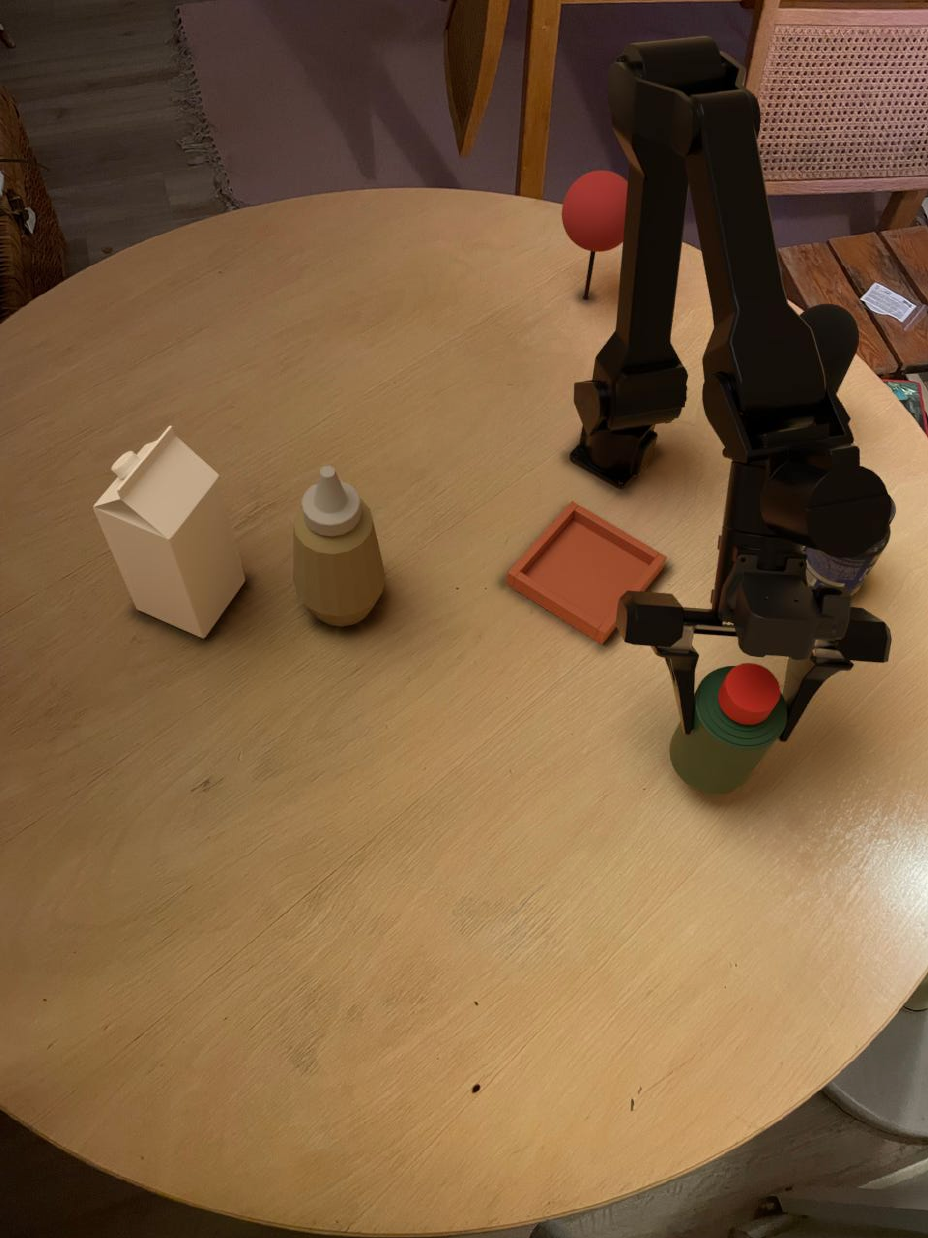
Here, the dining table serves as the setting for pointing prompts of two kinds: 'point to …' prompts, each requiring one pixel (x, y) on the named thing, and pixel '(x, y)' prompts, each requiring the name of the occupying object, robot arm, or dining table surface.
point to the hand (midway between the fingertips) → (733, 736)
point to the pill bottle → (845, 564)
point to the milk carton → (172, 534)
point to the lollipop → (595, 214)
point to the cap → (749, 693)
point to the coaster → (584, 570)
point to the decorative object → (833, 339)
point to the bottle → (722, 741)
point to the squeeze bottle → (336, 552)
